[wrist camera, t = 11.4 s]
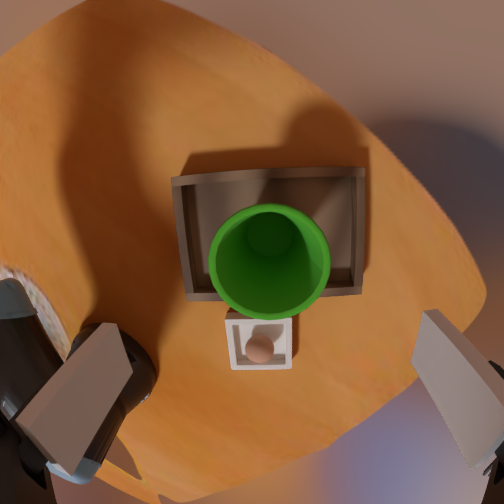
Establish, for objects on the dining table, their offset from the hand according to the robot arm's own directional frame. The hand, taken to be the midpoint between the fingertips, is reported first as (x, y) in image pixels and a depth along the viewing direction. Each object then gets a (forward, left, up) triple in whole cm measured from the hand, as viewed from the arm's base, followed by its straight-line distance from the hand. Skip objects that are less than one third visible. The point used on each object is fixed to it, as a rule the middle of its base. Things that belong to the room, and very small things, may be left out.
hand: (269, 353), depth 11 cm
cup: (0, 0, -21) cm, 21 cm away
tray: (0, 0, -22) cm, 22 cm away
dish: (-2, -14, -22) cm, 26 cm away
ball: (-2, -14, -21) cm, 25 cm away
